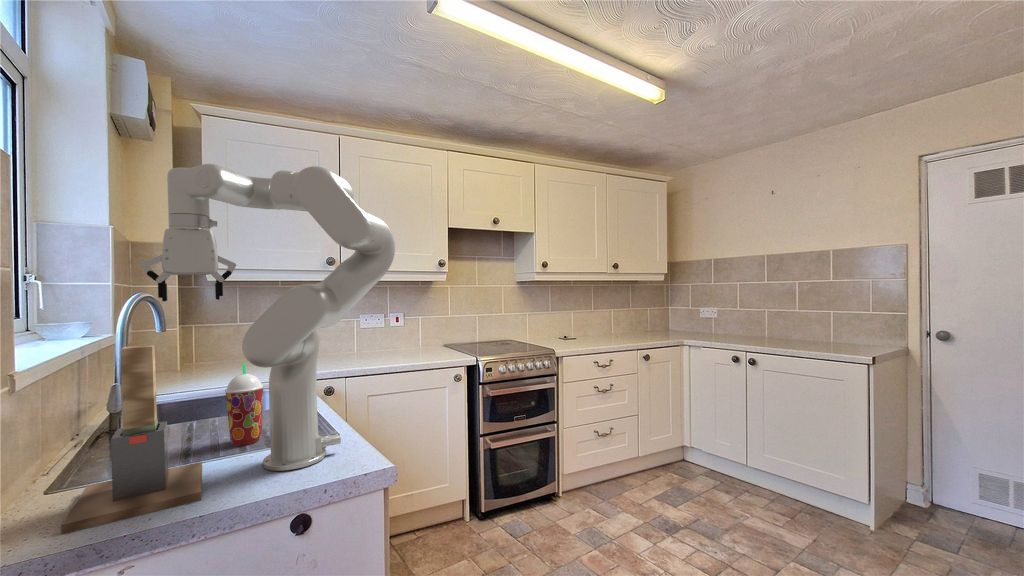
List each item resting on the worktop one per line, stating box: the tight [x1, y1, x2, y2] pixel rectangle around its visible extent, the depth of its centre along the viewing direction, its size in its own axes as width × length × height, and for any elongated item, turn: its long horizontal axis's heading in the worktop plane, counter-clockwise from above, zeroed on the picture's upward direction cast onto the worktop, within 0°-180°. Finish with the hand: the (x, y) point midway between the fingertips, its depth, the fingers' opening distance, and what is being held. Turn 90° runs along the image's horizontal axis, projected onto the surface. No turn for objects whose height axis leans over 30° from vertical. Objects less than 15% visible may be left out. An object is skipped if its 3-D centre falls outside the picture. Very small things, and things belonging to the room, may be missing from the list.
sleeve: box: [110, 420, 169, 502], centre depth 82 cm, size 7×8×11 cm
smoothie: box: [224, 362, 264, 447], centre depth 111 cm, size 8×8×20 cm
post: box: [120, 344, 159, 436], centre depth 82 cm, size 5×5×18 cm
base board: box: [60, 461, 203, 535], centre depth 82 cm, size 18×18×2 cm
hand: (191, 300), depth 99 cm, fingers open, 9 cm apart
